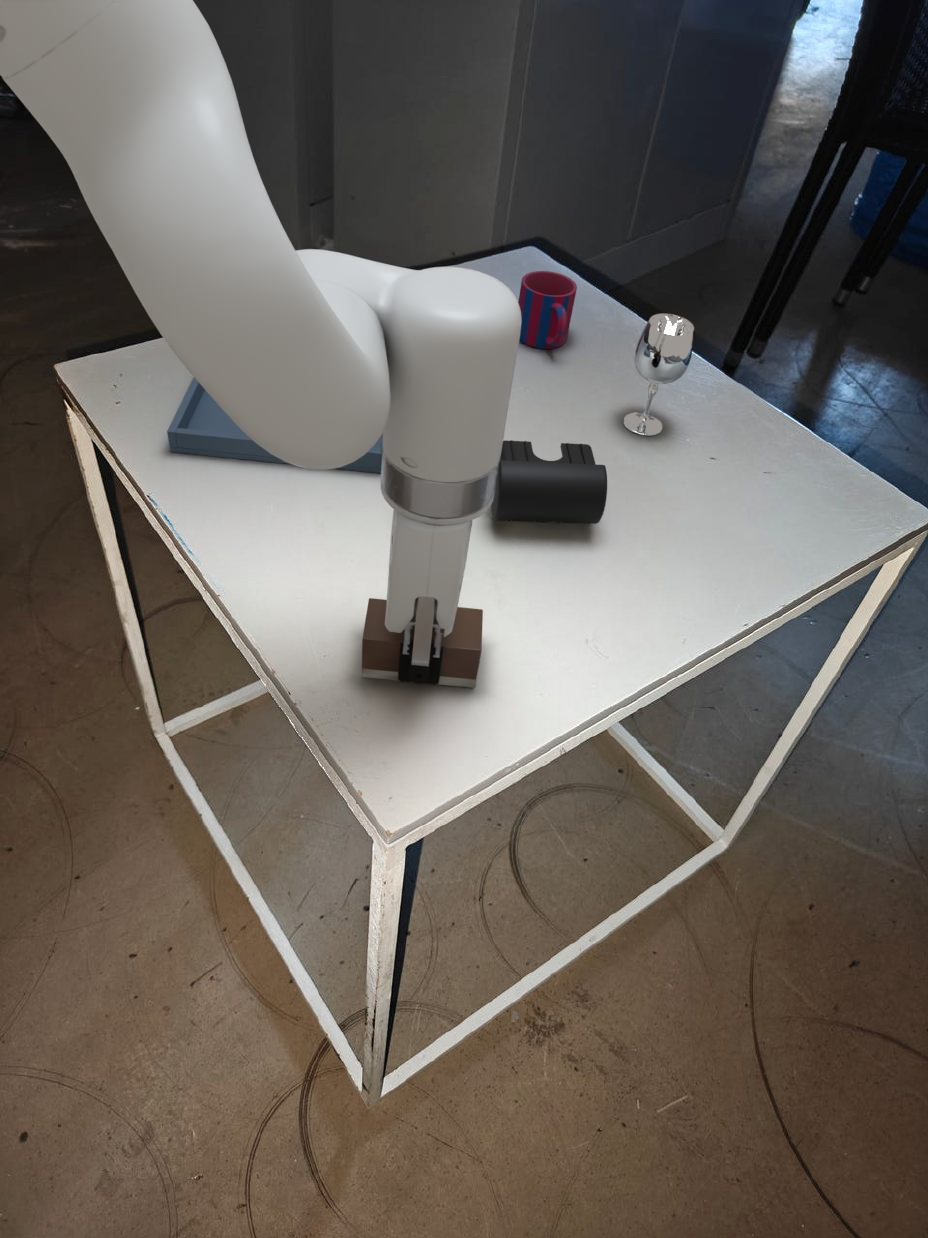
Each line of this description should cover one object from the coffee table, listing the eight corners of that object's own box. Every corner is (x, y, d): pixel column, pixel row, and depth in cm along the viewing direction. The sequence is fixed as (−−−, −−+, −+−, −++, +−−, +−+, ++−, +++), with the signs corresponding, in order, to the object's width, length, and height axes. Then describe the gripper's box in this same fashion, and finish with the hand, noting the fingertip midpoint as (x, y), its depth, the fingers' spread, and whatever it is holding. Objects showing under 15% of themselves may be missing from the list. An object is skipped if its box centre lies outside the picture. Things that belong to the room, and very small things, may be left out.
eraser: (361, 677, 67) (362, 639, 64) (367, 636, 70) (369, 597, 67) (475, 688, 68) (481, 650, 65) (476, 646, 71) (483, 608, 68)
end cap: (492, 538, 81) (501, 481, 76) (486, 491, 85) (494, 434, 80) (596, 542, 82) (612, 485, 77) (585, 495, 86) (599, 439, 82)
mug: (561, 323, 111) (571, 271, 106) (576, 364, 104) (587, 311, 99) (510, 321, 110) (518, 269, 105) (522, 362, 103) (530, 308, 98)
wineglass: (629, 441, 94) (658, 340, 85) (609, 411, 98) (634, 312, 89) (676, 436, 95) (709, 337, 87) (655, 407, 99) (684, 309, 90)
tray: (170, 451, 85) (166, 431, 83) (209, 369, 96) (206, 349, 94) (388, 474, 86) (389, 454, 84) (402, 389, 97) (403, 370, 95)
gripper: (394, 393, 61) (384, 577, 74) (365, 551, 49) (361, 737, 63) (498, 404, 61) (471, 586, 75) (495, 565, 50) (463, 747, 63)
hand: (421, 653), depth 68 cm, fingers closed on eraser, 4 cm apart
